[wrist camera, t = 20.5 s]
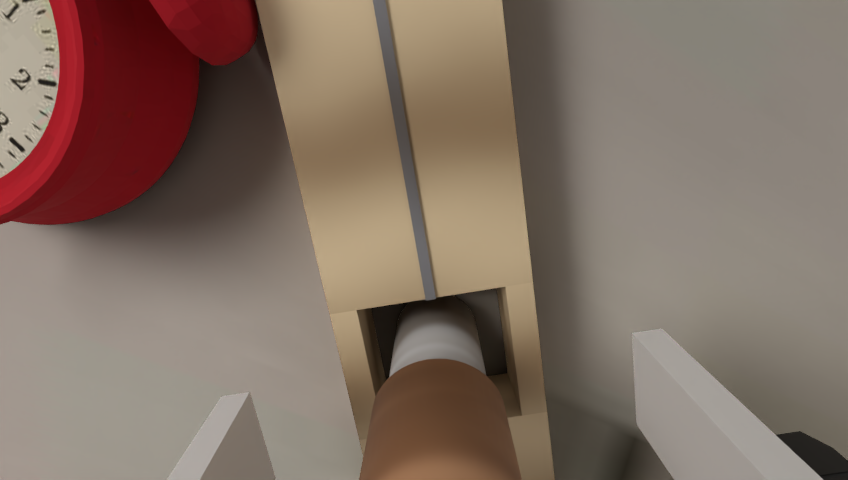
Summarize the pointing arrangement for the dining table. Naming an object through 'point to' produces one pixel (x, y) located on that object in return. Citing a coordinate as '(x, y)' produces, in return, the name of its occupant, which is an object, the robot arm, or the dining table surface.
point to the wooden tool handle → (438, 403)
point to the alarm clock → (102, 97)
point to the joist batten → (411, 179)
